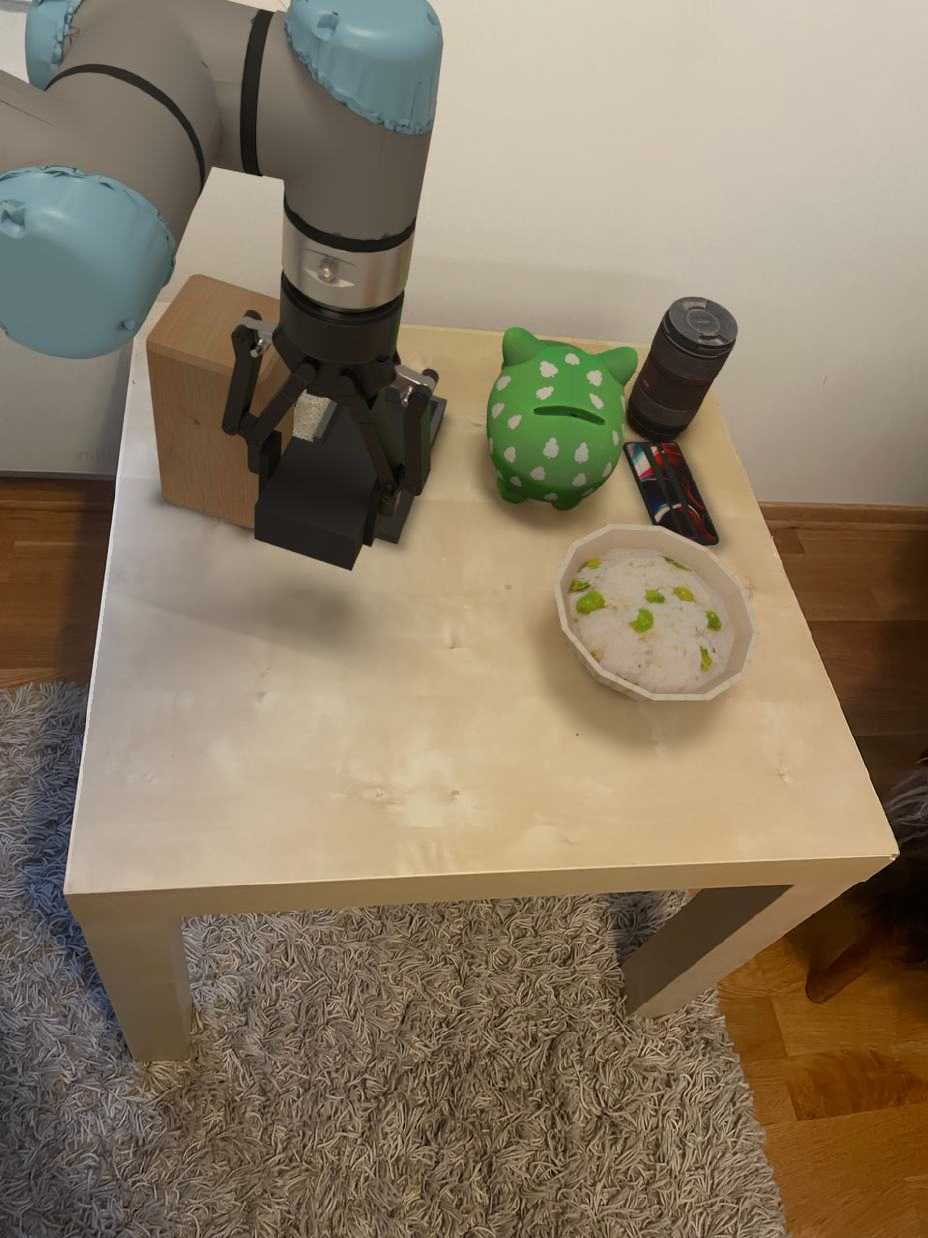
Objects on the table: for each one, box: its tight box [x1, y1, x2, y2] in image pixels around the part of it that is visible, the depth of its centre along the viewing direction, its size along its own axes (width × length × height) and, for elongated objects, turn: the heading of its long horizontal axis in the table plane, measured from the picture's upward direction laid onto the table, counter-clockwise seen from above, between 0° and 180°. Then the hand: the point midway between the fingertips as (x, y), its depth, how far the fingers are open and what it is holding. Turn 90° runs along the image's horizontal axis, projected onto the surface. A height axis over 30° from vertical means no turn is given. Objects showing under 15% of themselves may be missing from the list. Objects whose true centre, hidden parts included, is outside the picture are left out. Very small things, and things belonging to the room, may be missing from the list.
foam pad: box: [253, 435, 377, 572], centre depth 73 cm, size 8×8×4 cm
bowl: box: [552, 523, 761, 703], centre depth 85 cm, size 19×19×10 cm
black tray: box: [312, 383, 448, 544], centre depth 96 cm, size 19×11×3 cm, turn 166°
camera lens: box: [626, 296, 739, 442], centre depth 103 cm, size 8×8×15 cm
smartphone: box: [622, 441, 720, 547], centre depth 103 cm, size 7×1×15 cm
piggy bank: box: [485, 326, 639, 511], centre depth 95 cm, size 14×18×15 cm
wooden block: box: [145, 273, 296, 529], centre depth 83 cm, size 10×10×20 cm
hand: (320, 516), depth 74 cm, fingers closed on foam pad, 8 cm apart
